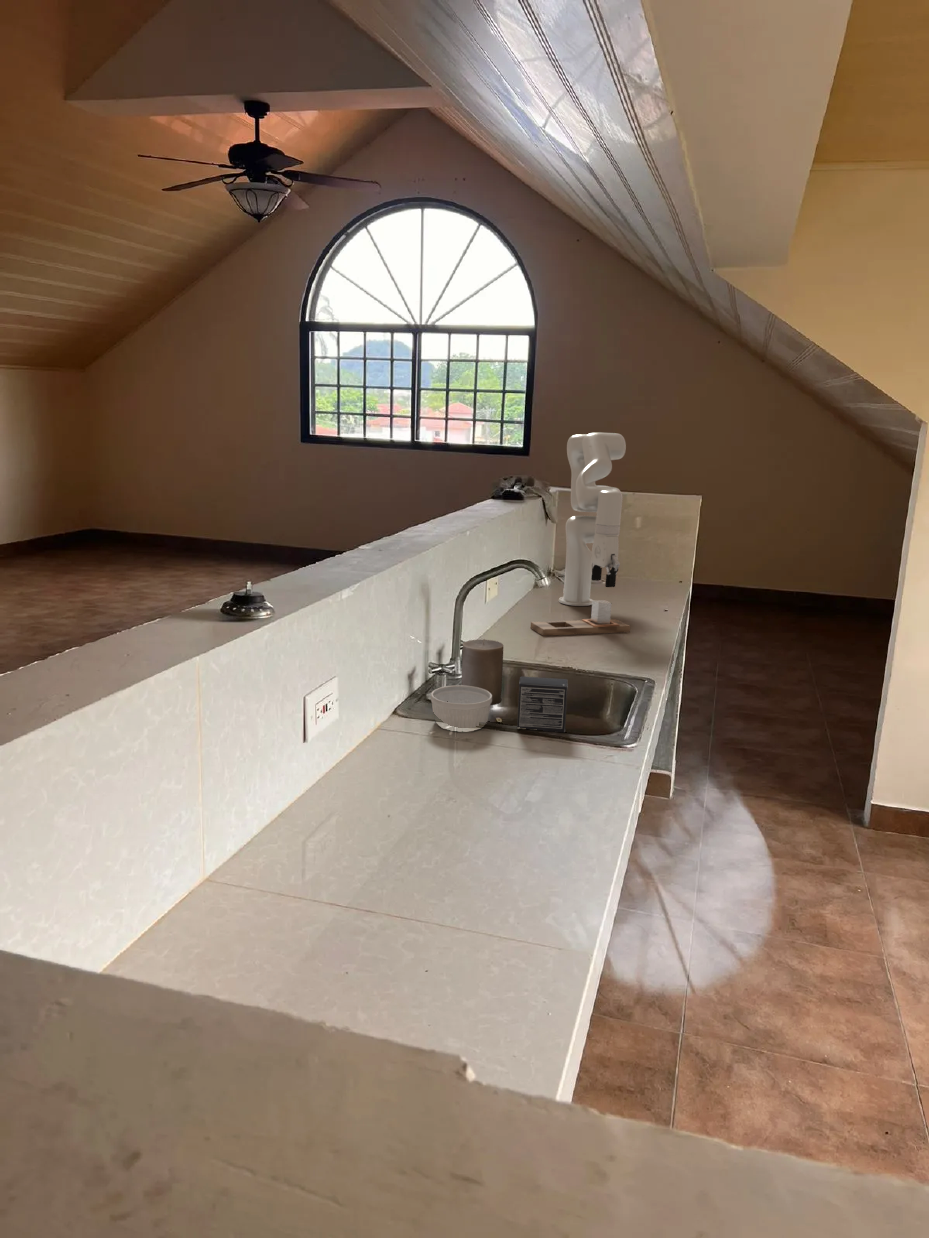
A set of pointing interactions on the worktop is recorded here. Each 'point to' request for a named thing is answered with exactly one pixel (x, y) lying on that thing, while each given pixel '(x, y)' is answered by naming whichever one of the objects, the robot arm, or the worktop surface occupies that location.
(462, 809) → the worktop surface
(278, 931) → the worktop surface
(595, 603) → the grey square block
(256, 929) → the worktop surface
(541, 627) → the tan flat board
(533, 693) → the small box
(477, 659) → the pillar candle
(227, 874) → the worktop surface
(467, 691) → the ramekin
